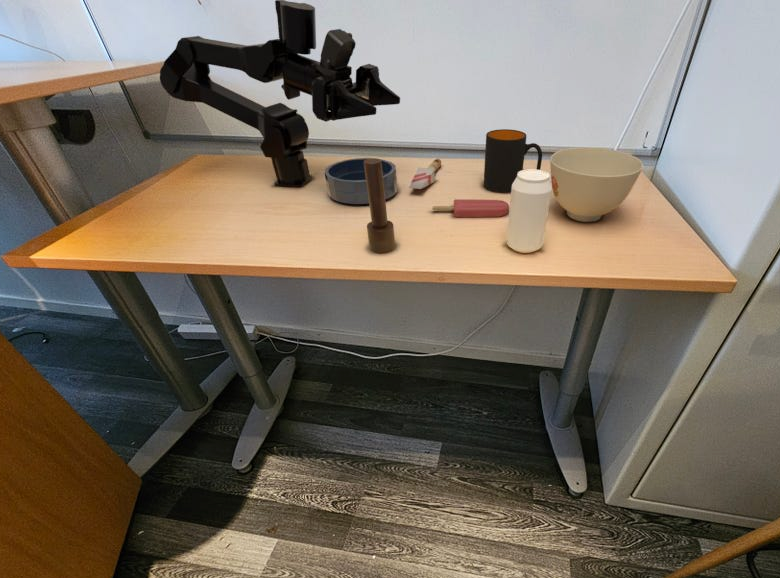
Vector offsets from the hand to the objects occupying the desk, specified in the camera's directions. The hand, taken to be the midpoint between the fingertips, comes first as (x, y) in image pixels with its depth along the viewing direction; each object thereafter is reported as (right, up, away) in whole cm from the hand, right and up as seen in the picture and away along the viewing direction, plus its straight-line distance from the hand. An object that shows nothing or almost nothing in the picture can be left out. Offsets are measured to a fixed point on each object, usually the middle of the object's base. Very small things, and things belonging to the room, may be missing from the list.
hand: (388, 105), depth 76 cm
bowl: (+37, -18, +5) cm, 42 cm away
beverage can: (+24, -27, -4) cm, 37 cm away
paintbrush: (+6, -5, +19) cm, 21 cm away
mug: (+25, -8, +16) cm, 31 cm away
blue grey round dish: (-7, -10, +14) cm, 19 cm away
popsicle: (+15, -17, +6) cm, 24 cm away
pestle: (0, -27, -4) cm, 28 cm away
